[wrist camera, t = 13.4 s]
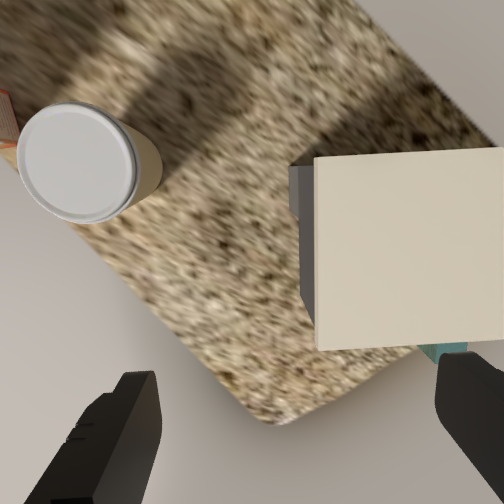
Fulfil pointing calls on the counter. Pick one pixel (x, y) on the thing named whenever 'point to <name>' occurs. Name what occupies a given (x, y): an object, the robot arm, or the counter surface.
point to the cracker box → (7, 122)
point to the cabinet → (402, 247)
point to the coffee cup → (85, 162)
